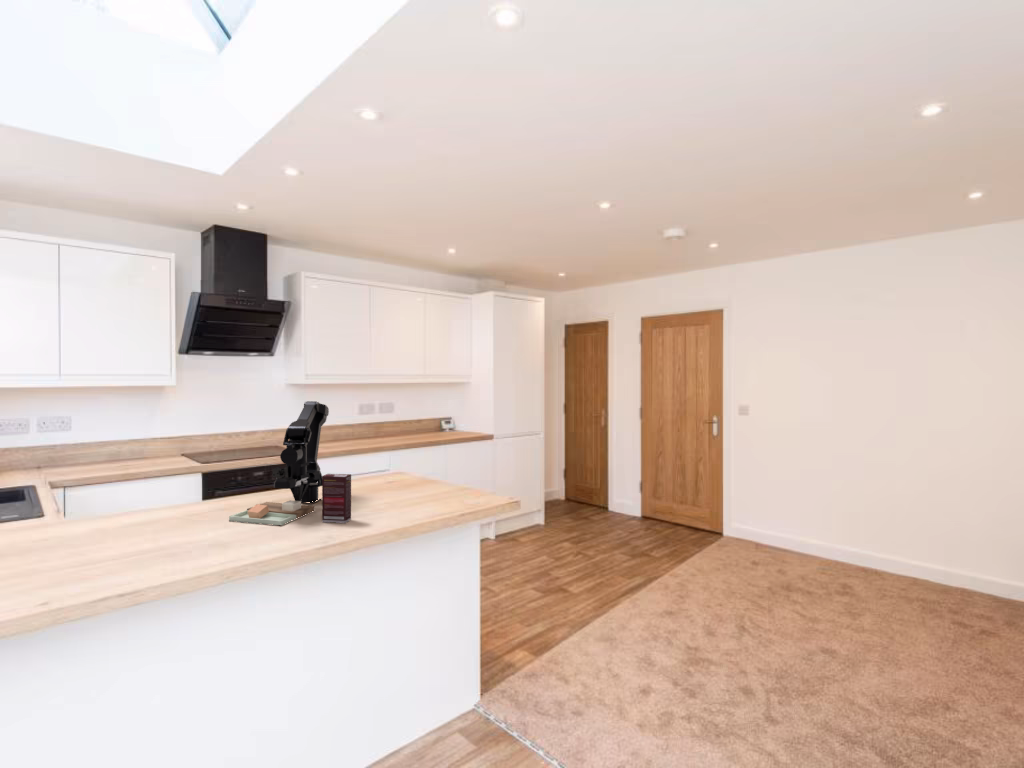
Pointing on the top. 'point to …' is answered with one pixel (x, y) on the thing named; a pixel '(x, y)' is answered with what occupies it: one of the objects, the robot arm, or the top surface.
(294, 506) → the cream tile
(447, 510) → the top surface
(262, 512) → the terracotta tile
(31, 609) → the top surface
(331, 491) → the supplement box
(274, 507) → the walnut board
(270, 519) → the green tray
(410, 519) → the top surface
